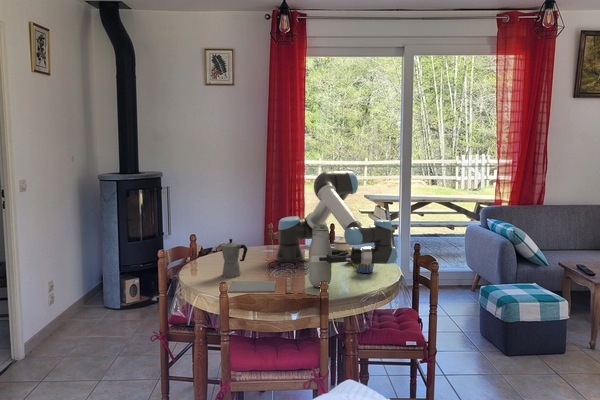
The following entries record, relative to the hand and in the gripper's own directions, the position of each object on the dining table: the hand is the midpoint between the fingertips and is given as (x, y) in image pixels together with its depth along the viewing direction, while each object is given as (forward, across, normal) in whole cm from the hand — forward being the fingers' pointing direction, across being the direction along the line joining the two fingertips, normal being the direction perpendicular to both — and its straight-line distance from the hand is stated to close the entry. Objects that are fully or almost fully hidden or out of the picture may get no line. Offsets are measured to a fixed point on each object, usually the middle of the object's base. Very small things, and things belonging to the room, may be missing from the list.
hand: (310, 256), depth 217 cm
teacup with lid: (-18, +59, -14) cm, 63 cm away
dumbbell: (-26, +37, -14) cm, 47 cm away
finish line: (+10, 0, -14) cm, 17 cm away
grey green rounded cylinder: (-4, 0, -14) cm, 15 cm away
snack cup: (-28, +24, -14) cm, 40 cm away
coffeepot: (+37, +21, -14) cm, 45 cm away
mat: (+26, +1, -14) cm, 29 cm away
